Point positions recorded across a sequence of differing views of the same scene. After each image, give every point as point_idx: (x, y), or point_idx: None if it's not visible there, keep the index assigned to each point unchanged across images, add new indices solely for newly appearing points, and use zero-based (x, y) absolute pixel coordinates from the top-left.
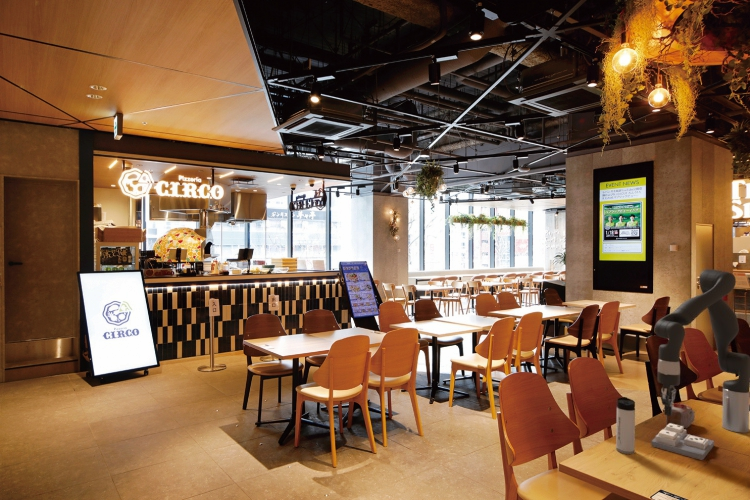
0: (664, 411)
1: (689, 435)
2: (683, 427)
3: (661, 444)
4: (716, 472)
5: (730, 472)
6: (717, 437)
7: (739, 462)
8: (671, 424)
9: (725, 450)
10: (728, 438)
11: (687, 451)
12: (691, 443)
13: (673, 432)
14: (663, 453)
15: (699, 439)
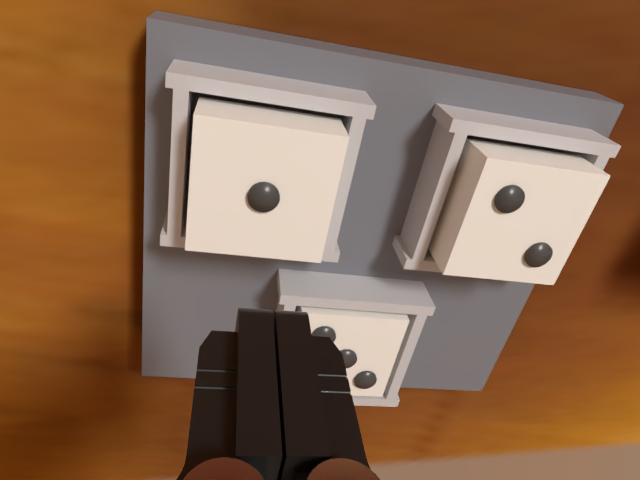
0: (236, 343)
1: (412, 313)
2: (548, 279)
3: (147, 117)
4: (9, 413)
5: (82, 452)
6: (631, 364)
7: None
8: (571, 195)
9: (422, 408)
10: (634, 400)
11: (143, 299)
12: None
13: (316, 238)
14: (52, 131)
15: (352, 372)
